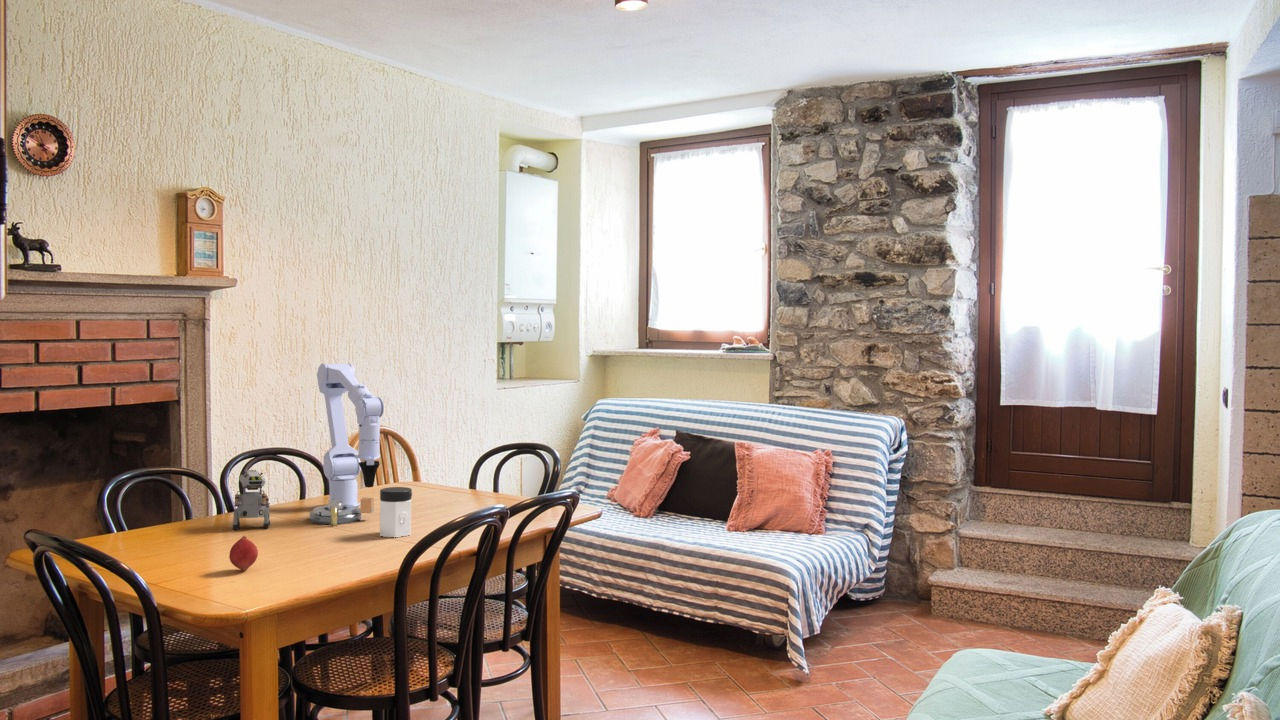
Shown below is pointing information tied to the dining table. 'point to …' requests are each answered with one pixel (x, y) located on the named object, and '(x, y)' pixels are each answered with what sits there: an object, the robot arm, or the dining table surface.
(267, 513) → the figurine
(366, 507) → the grey handled ring
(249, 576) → the dining table surface
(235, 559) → the onion
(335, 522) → the dowel pin
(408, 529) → the jar
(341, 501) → the post base
